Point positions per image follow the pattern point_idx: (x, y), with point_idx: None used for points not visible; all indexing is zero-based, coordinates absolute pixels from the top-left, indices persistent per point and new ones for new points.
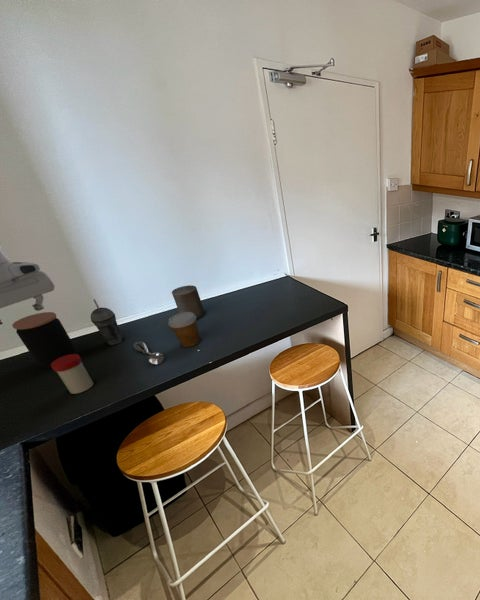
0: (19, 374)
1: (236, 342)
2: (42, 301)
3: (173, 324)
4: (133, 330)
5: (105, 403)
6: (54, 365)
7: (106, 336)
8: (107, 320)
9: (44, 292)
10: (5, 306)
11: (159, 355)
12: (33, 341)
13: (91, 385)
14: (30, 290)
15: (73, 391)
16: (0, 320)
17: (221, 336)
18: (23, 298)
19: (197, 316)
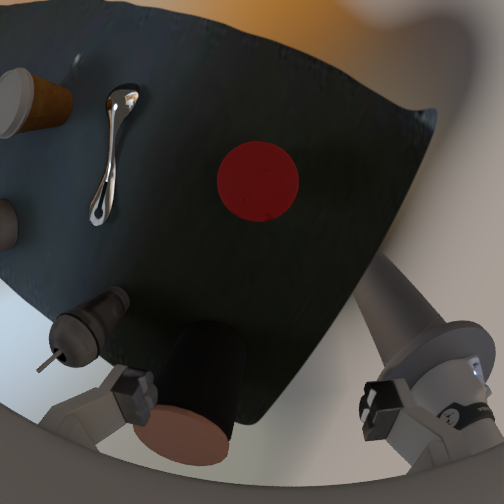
0: (275, 372)
1: (48, 25)
2: (81, 395)
3: (25, 86)
4: (79, 303)
5: (287, 52)
6: (292, 181)
7: (115, 307)
8: (75, 315)
9: (10, 416)
10: (319, 486)
11: (113, 91)
12: (226, 391)
13: None
14: (35, 493)
15: None
16: (376, 400)
17: (34, 73)
18: (135, 482)
19: (2, 200)
